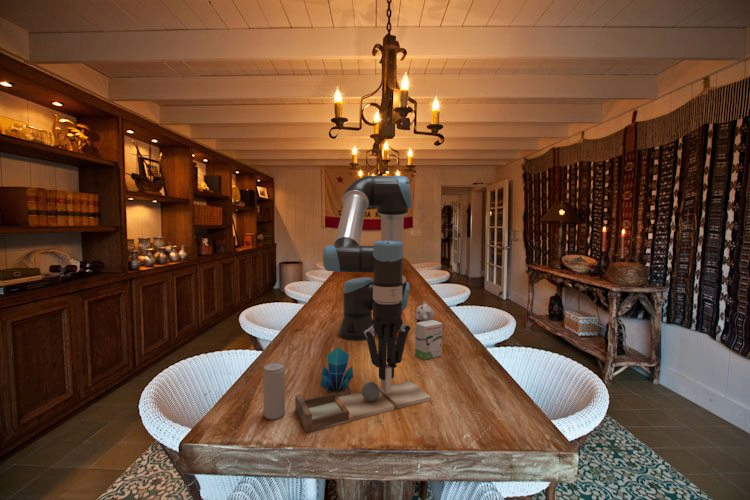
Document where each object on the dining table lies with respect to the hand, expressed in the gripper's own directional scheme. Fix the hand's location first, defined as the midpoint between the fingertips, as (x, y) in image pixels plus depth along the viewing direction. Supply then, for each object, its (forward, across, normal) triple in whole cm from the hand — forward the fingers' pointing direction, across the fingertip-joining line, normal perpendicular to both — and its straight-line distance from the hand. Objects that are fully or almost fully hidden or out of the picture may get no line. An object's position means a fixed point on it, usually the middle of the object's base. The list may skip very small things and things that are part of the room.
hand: (386, 390), depth 91 cm
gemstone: (+3, -10, +9) cm, 14 cm away
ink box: (+3, +28, +21) cm, 35 cm away
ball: (-1, -4, 0) cm, 5 cm away
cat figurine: (+3, +52, +58) cm, 78 cm away
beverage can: (+3, -28, +5) cm, 28 cm away
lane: (+3, -6, 0) cm, 7 cm away
